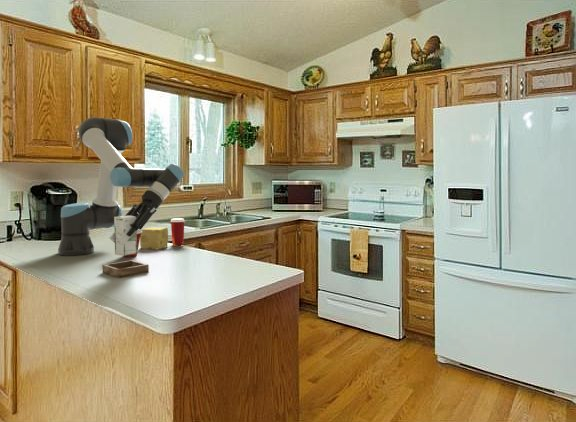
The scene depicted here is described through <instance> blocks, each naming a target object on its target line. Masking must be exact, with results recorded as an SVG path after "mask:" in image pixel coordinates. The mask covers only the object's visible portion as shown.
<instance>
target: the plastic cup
mask: <svg viewBox="0 0 576 422" xmlns="http://www.w3.org/2000/svg"><path fill="white" fill-rule="evenodd" d="M142 232H143V231H141V230H139V229H138V230H137V254H132V255H126V256H122V257H124V258H135V257H137V255H138V252H139V251H138V250H139V245H140V236H141V233H142Z"/></svg>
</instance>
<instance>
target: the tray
mask: <svg viewBox="0 0 576 422" xmlns="http://www.w3.org/2000/svg"><path fill="white" fill-rule="evenodd" d="M101 266H102V267H101V268H102V274H104V275H108V276H110V277H115V278H117V279H121V278H127V277H132V276H137V275H141V274H142V275H143V274H147V273H150V271H149V269H150V267H149V264H148V263H144V262H140V261H136V260H134V259H130V260H126V261H117V262H113V263H106V264H102V265H101Z"/></svg>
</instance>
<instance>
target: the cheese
mask: <svg viewBox="0 0 576 422" xmlns="http://www.w3.org/2000/svg"><path fill="white" fill-rule="evenodd" d="M168 229H169V228H168V227H147V228H142V229H141V231H143V232H142V233H141V236H140V240H139V245H140V249H143V250H144V249H147V250H149V249H151V250H160V249H163V248H166V247H168V244H169V243H168V241H169V230H168Z"/></svg>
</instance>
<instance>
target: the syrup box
mask: <svg viewBox="0 0 576 422" xmlns="http://www.w3.org/2000/svg"><path fill="white" fill-rule="evenodd" d="M135 219H136V217H135V216H125V215H122V216H118V217H114V227H113V228H114V232H115V243H114V255H117V256H122V257H123V256H126V255H132V254H137V255H138V252H137V231H135V232H134V233H133V235H132V236H131V237H130V238H129V239H128V241H127V242H126V243H125V244H124V245H123V244H122V243H121V242H120V241H118V239H119V238H120V237H121V236H122V234H123V233H124V232H125V231H126V230H127V229H128V227H129V226H130V224H133V223H134V221H135Z"/></svg>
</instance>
